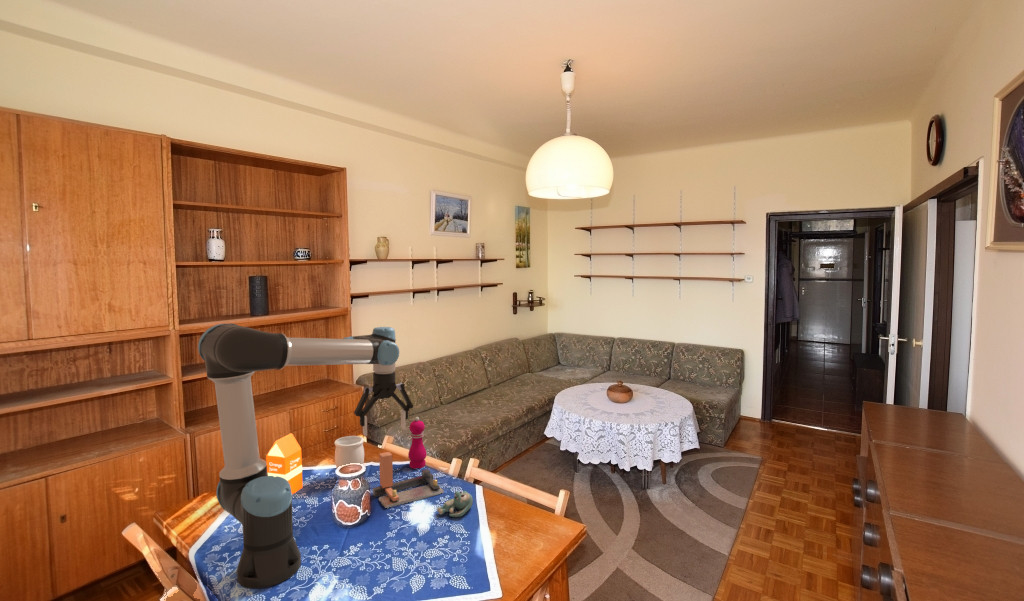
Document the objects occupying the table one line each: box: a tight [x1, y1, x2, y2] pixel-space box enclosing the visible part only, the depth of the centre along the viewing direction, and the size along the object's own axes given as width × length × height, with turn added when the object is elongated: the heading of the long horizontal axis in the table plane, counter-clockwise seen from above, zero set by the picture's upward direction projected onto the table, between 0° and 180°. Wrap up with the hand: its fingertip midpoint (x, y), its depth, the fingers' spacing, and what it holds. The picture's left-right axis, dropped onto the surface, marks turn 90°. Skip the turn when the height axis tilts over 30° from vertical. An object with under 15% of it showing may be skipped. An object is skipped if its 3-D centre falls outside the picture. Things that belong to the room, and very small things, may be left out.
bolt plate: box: [378, 484, 444, 509], centre depth 169 cm, size 7×21×1 cm, turn 123°
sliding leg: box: [379, 451, 399, 501], centre depth 168 cm, size 12×4×13 cm, turn 33°
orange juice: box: [265, 432, 303, 495], centre depth 172 cm, size 8×9×20 cm
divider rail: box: [372, 468, 440, 498], centre depth 172 cm, size 11×22×4 cm, turn 123°
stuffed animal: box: [436, 490, 474, 518], centre depth 159 cm, size 11×7×12 cm
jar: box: [334, 435, 365, 469], centre depth 182 cm, size 11×10×15 cm
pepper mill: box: [407, 416, 427, 470], centre depth 194 cm, size 7×7×20 cm
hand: (384, 431), depth 170 cm, fingers open, 13 cm apart
